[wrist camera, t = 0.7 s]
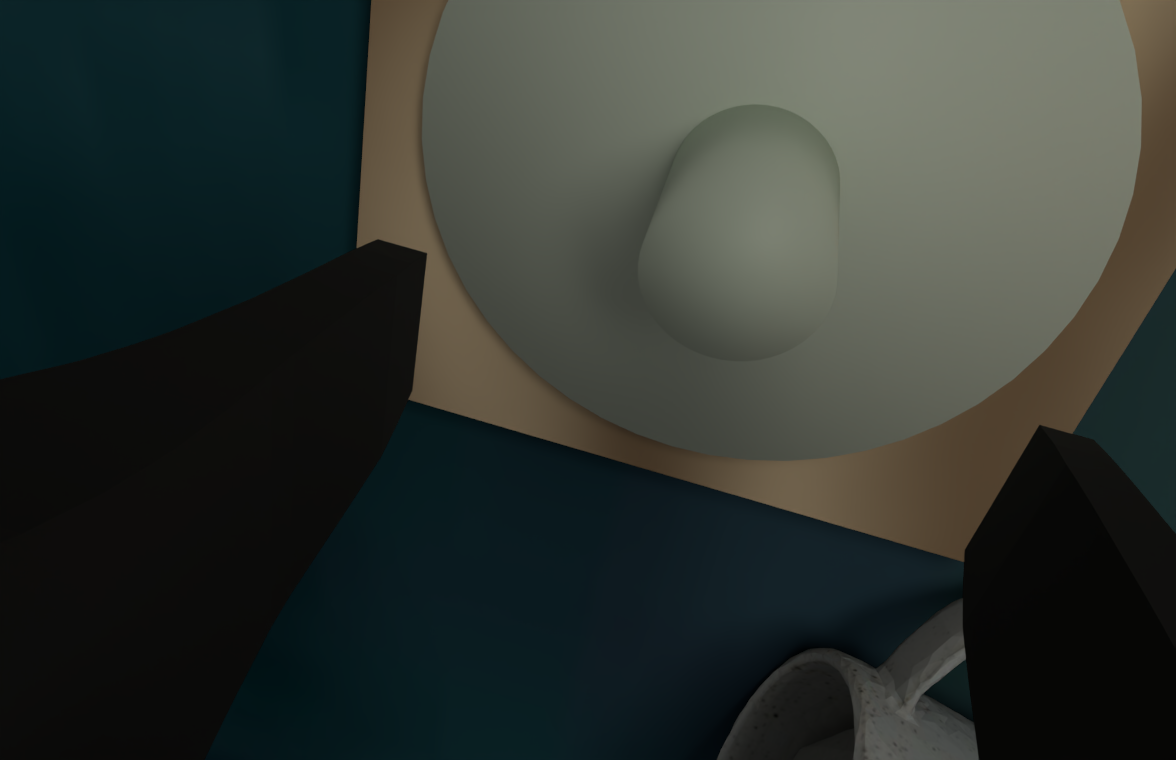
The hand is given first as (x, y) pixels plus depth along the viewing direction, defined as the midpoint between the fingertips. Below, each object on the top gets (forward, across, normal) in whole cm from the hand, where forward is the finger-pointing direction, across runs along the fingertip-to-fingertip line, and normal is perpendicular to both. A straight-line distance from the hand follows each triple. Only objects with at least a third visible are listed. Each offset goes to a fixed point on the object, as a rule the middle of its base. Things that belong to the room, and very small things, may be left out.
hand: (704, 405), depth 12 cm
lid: (+7, 0, 0) cm, 7 cm away
